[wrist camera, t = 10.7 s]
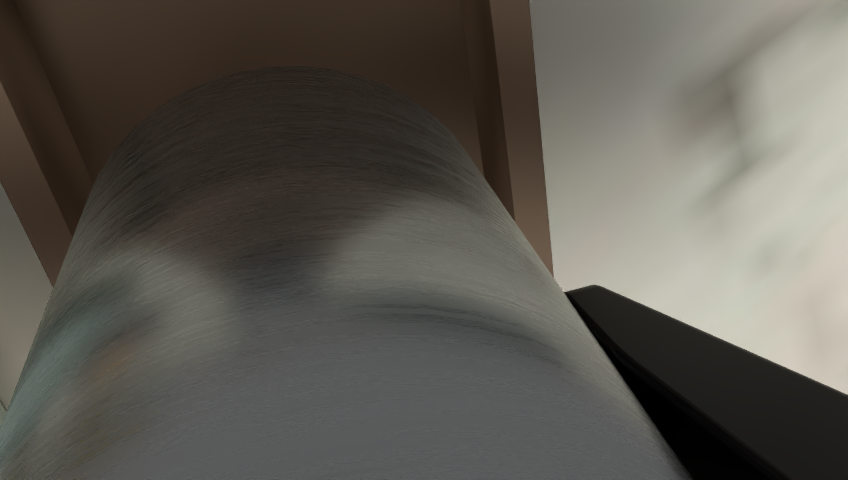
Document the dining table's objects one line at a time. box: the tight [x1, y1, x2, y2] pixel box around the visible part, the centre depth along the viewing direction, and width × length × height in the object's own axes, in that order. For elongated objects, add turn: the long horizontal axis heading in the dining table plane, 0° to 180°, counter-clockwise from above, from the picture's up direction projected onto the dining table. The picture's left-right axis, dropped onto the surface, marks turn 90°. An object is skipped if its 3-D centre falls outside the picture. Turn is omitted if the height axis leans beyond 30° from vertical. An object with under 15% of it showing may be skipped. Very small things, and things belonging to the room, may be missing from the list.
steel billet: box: [0, 66, 693, 480], centre depth 7 cm, size 5×5×7 cm
